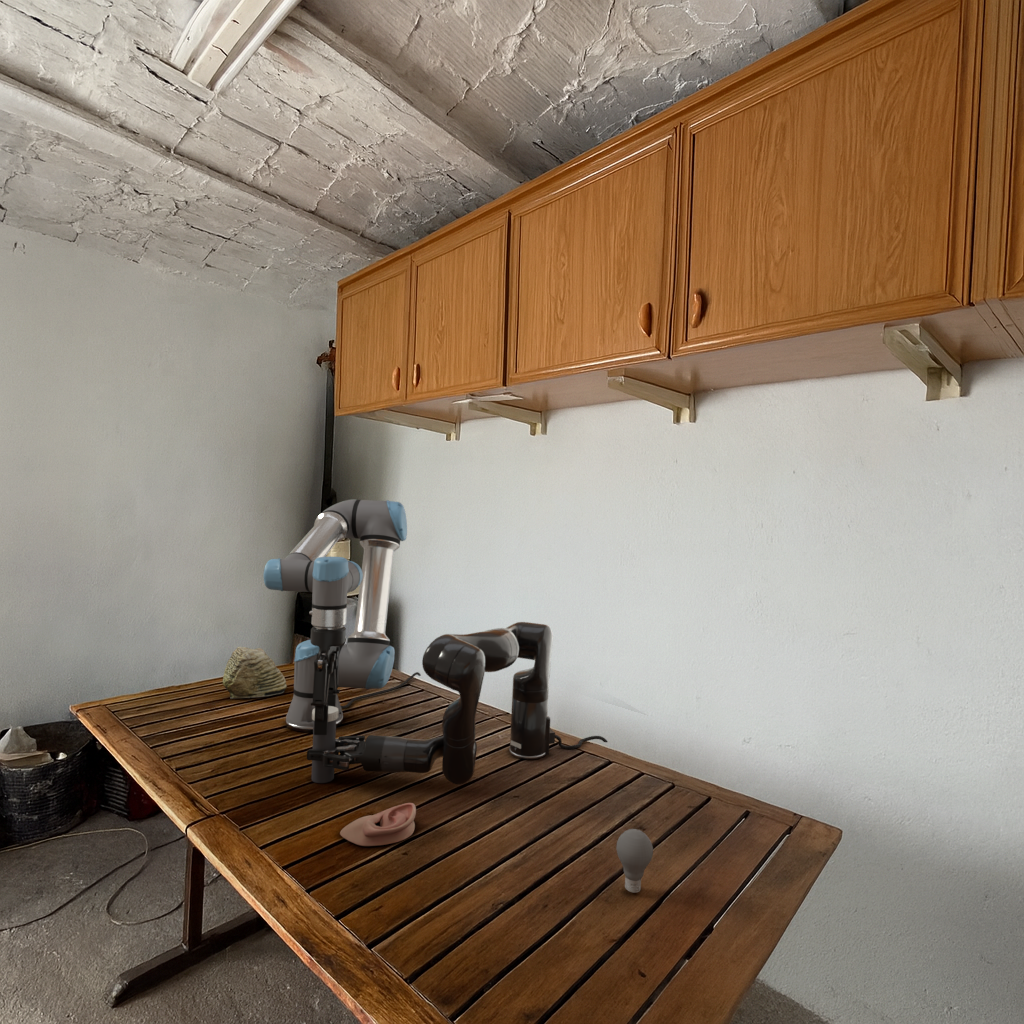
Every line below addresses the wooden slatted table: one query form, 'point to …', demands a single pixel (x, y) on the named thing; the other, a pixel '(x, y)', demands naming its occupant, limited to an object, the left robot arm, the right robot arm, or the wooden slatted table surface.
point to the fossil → (252, 674)
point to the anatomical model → (382, 826)
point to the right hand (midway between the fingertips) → (312, 749)
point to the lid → (329, 713)
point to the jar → (324, 743)
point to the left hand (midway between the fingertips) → (324, 728)
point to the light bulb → (634, 857)
